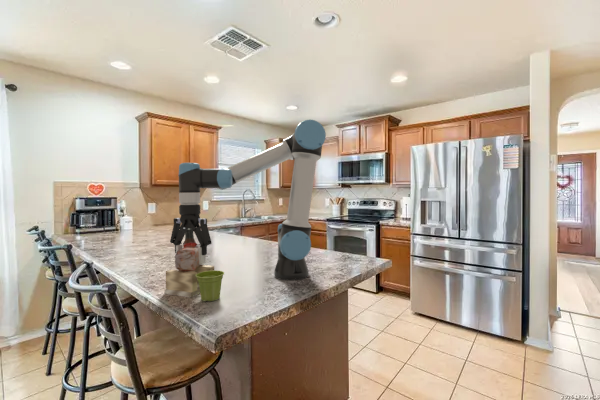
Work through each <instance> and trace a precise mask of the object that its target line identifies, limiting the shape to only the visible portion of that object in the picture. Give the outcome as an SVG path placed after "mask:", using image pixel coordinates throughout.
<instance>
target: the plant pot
mask: <svg viewBox="0 0 600 400" xmlns="http://www.w3.org/2000/svg"><path fill="white" fill-rule="evenodd" d="M224 275H225V271H222V270H215V269H214V271H204V272H200V273H198V274H196V277H197V280H198V282H199V288H200V293H199V294H200V298H201V301H202V302H206V301H208V302H213V301H217V300H218V299H220V298H221V290H222V281H223V278H224Z"/></svg>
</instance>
